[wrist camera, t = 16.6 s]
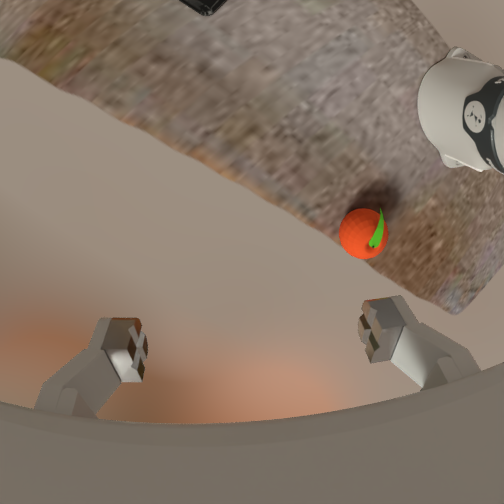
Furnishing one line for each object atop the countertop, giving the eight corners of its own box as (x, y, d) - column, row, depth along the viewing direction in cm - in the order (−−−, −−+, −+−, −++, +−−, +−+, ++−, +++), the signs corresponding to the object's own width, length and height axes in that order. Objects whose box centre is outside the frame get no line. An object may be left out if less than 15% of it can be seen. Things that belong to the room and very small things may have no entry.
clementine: (346, 187, 42) (365, 209, 36) (386, 200, 43) (409, 222, 37) (325, 237, 46) (340, 264, 40) (365, 246, 47) (383, 273, 41)
